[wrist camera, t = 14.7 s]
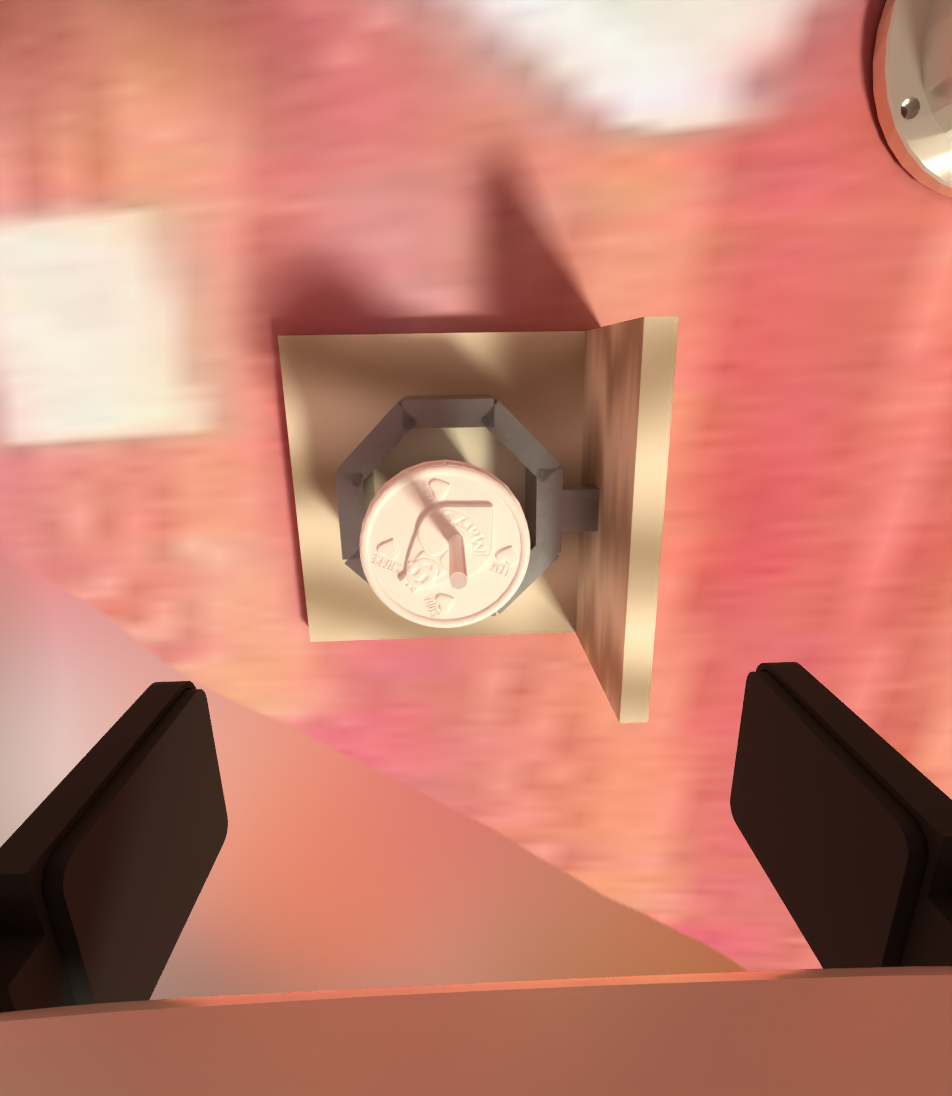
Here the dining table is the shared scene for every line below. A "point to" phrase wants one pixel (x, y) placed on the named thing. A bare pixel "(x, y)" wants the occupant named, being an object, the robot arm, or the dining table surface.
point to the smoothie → (444, 544)
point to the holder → (496, 473)
